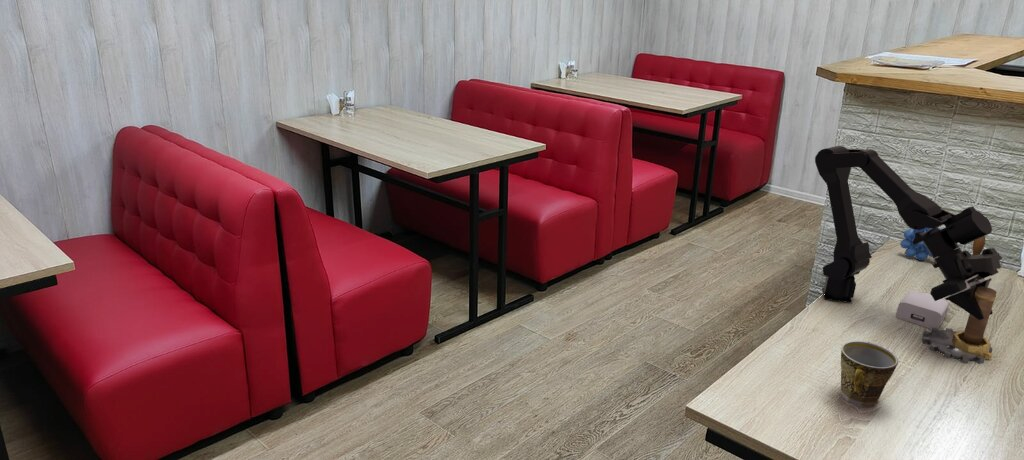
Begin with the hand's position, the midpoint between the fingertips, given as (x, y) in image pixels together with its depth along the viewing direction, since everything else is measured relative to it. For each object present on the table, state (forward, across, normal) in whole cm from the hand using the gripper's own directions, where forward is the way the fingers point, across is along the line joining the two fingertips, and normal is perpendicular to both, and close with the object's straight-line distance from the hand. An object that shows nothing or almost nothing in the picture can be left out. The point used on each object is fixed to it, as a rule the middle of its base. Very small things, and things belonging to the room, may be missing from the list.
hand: (986, 316), depth 155 cm
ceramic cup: (+4, -39, +10) cm, 41 cm away
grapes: (-18, +44, +31) cm, 57 cm away
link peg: (+4, 0, +6) cm, 7 cm away
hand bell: (-6, +36, +19) cm, 41 cm away
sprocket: (+4, 0, +9) cm, 10 cm away
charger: (-5, +10, +19) cm, 22 cm away
